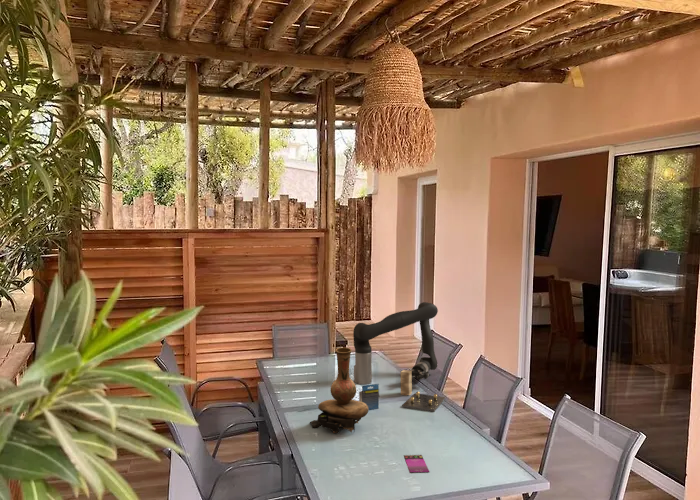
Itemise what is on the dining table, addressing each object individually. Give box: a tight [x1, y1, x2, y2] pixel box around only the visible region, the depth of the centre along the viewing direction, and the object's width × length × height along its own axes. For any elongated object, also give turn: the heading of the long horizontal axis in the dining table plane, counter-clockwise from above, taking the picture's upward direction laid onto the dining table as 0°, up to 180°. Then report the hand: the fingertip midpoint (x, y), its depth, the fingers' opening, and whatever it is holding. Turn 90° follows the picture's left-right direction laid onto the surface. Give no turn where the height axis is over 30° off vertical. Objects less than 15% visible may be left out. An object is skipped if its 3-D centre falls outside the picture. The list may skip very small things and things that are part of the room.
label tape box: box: [358, 383, 380, 411], centre depth 264 cm, size 9×4×12 cm, turn 112°
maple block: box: [400, 369, 413, 396], centre depth 287 cm, size 4×4×12 cm
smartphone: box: [403, 454, 430, 474], centre depth 203 cm, size 7×15×1 cm, turn 3°
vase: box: [309, 347, 370, 434], centre depth 240 cm, size 24×22×35 cm
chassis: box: [401, 391, 446, 413], centre depth 271 cm, size 16×20×4 cm
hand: (411, 377), depth 294 cm, fingers open, 8 cm apart
